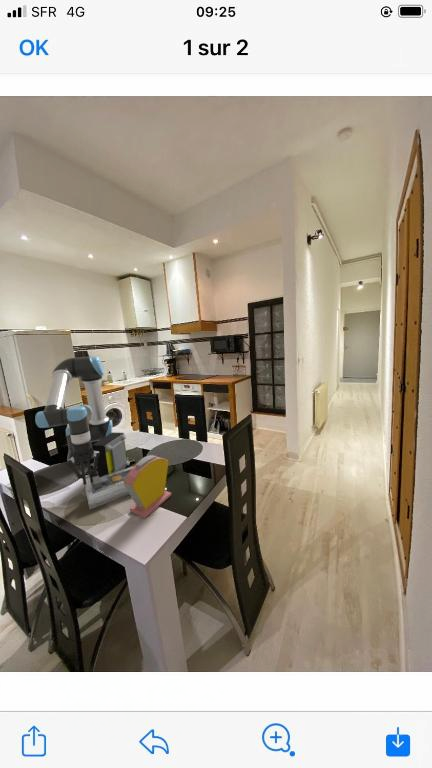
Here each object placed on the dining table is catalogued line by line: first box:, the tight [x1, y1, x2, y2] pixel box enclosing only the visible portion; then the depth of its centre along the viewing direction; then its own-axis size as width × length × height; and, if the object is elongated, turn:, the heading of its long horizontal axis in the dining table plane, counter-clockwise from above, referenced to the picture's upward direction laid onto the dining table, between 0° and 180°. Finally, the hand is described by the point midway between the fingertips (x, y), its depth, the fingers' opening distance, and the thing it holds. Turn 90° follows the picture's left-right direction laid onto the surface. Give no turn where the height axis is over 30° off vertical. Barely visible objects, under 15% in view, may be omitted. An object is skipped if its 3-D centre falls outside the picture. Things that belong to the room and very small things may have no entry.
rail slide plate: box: [84, 465, 135, 510], centre depth 120 cm, size 14×26×7 cm, turn 123°
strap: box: [102, 475, 127, 487], centre depth 121 cm, size 6×16×2 cm, turn 123°
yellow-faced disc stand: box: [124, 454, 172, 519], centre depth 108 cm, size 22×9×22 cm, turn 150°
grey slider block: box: [93, 475, 108, 490], centre depth 116 cm, size 7×6×5 cm
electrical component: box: [92, 432, 130, 477], centre depth 137 cm, size 18×10×20 cm, turn 168°
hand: (89, 489), depth 114 cm, fingers closed
